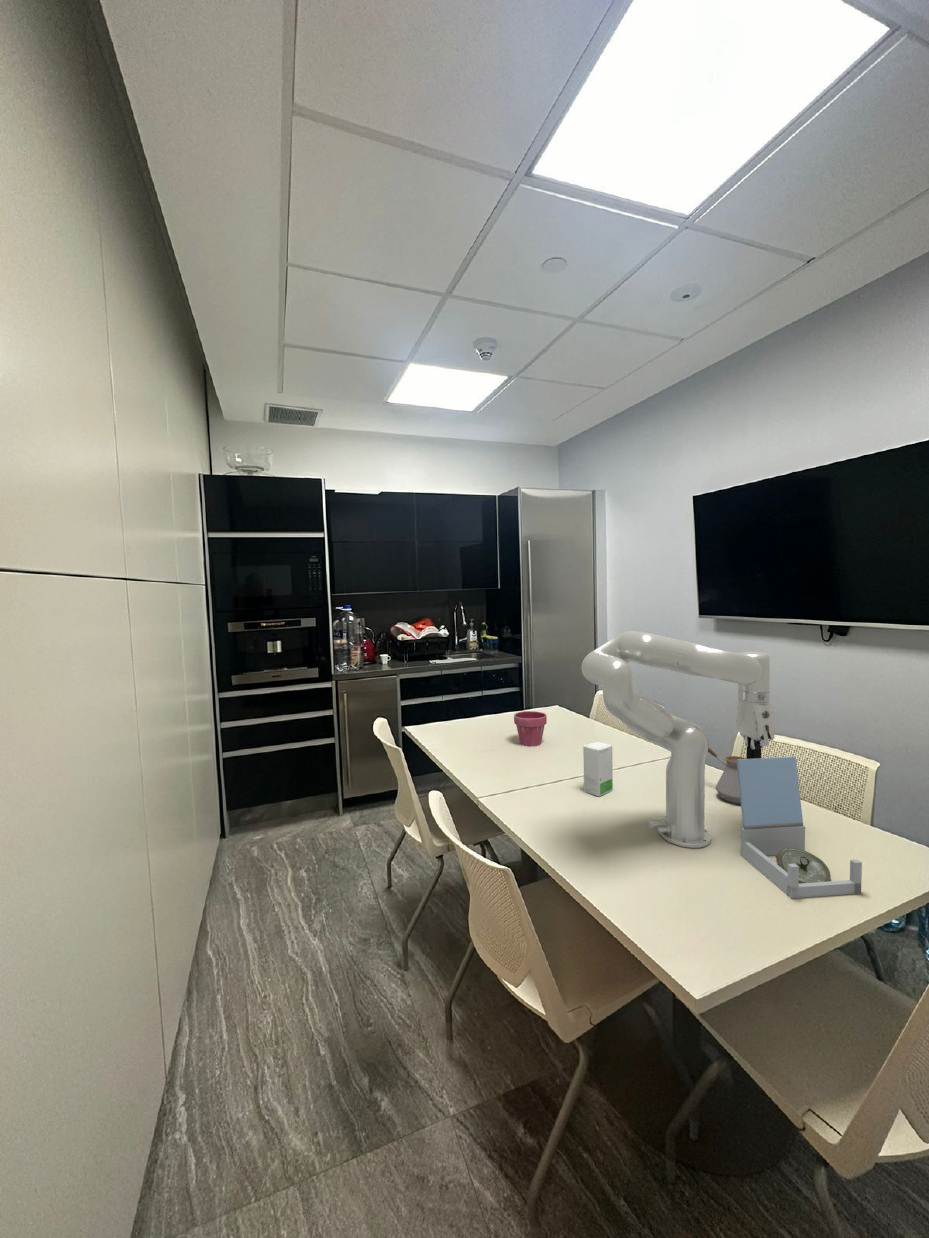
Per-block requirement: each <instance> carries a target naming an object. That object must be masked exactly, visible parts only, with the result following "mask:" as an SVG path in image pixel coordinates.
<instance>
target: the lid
mask: <svg viewBox="0 0 929 1238" xmlns="http://www.w3.org/2000/svg"><path fill="white" fill-rule="evenodd" d="M775 859H776V864H777V865H778V866H780V867H781V868H782V869H783V870H785V871H786V872H787V873H788V864H796V865H797V866H799V884H801V883H815V882H829V881H831V871H830V869H829V866H827V864H826V862H824V861H823V860H822V859H821V858H819V857H818V856H816V855H815V854H813V853H811V852H809V851H806V850H805V851H804V850H800V849H797V848H785V849H783V850H781V851H779V852H778V853H777V855H775Z"/></svg>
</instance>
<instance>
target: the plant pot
mask: <svg viewBox="0 0 929 1238" xmlns="http://www.w3.org/2000/svg"><path fill="white" fill-rule="evenodd" d="M547 716H548V715H547V714H546V713H545V712H542V711H535V710H534V711H533V710H531V711H530V710H528V711H527V710H526V711H519V712H516V713H514V715H513V722H514V723H513V724H515V725H516V729H517V730H516V731H517V735H518V737H519V738H518V739H519V742H520V744H521V745H522V746H526V747H537V746H540V745H541V744H542V741H543V736H544V730H545V726H546V725H547V722H548V721H547V719H548V718H547Z"/></svg>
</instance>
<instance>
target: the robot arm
mask: <svg viewBox="0 0 929 1238" xmlns="http://www.w3.org/2000/svg"><path fill="white" fill-rule="evenodd" d="M770 660H771V659H770V655H769V654H768V653H766V652H762V651H756V650H755V651H753V650H752V651H750V650H749V651H742V652H731V651H728V650H727V651H726V650H722V649H717V648H714V647H711V646H708V645H707V646H706V645H704V644H700V643H696V642H692V641H687V640H683V639H678V638H673V637H668V636H664V635H659V634H655V633H651V632H644V631H638V630H627V631H626V630H625V631H624V632H621V633H620V634H617V635H616V636H614V637H613V638H611V639H610V640H608V641H606V642H604V643H603V644H602V645H599V646H598V647H597V648H595V649H594V650H592V651H591V652H589V653H588V654H587V655H586V656H585V657H584V659H583V660H582V662H581V674H582V675H583V677H584V678H585V679H586V680H587V681H589V682H590V683H592V684H594V685H597V686H600V687H602V688H601V689H602V698H603V704H604V706H605V708H606V710H607V711H608V713H610V714H611V715H612V716H613V717H615V718H617V719H618V721H619V720H620V721H621V723H622V724H623V725H624V726H625V727H626V728H627V729H629V730H630V731H632V732H634V733H636V734H637V735H639V736H641V738H642V737H643V738H645V739H646V740H648V741H650V742H652V743H653V744H655V745H657V746H659V747H661V748H663V749H665V750H667V751H668V752H670V758H669V760H668V762H667V764H666V767H665V816H662V817H661V818H662V820H658V821H649V822H648V823H647V826H648V829H649V830H650V831H651V830H657V833H658V834H660V836H661V837H662V838H663V839H664V840H665V841H667V842H669V843H671V844H673V845H676V846H678V847H683V848H692V849H697V848H698V849H699V848H705V847H707V846H708V845H710V843H711V842H712V836H711V834H710V832H709V831H708V830H706V829H705V806H706V805H705V792H706V791H705V780H706V776H705V775H706V774H705V772H706V771H705V770H706V762H707V756H708V753H709V752H708V748H710V747H709V745H710V742H709V741H710V740H709V737H708V734H707V733H706V731H705V730H704V729H703V728H702V727H700V726H699V725H698V724H695V723H694V722H692V721H688V720H686V719H685V718H681V717H678V716H676V715H674V714H671V713H670V712H669V711H668V710H667V708H665V707H664V706H662V705H661V704H659V703H657V702H656V701H655V702H654V701H652V700H650V699H648V698H647V697H645V696H643V695H642V694H641V693H639V692H638V691H636V690H635V688H634V685H633V683H634V682H633V673H632V670H631V668H630V666H629V664H628V663H629V662H631V663H635V664H639V665H642V666H646V667H652V668H657V669H662V670H666V671H670V672H677V673H681V674H685V675H689V676H690V675H691V676H695V677H704V678H708V679H709V678H710V679H715V680H719V681H725V682H729V683H735V684H737V706H736V722H735V723H736V731H738V733H739V735H740V736H741V737H742V738H743V740H744V745H745V747H746V759H756V758H762V749H764V748H763V747H769V746H770V743H769V740H770V741H773V740H774V739H775V722H774V721H775V719H774V718H775V717H774V714H773V707H772V704H771V700H770V699H771V693H770V689H771V688H770V684H771V682H770V678H771V677H770V676H771V675H770V674H771V673H770V669H771V668H770V667H771V666H770V665H771V664H770V663H771V661H770Z"/></svg>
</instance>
